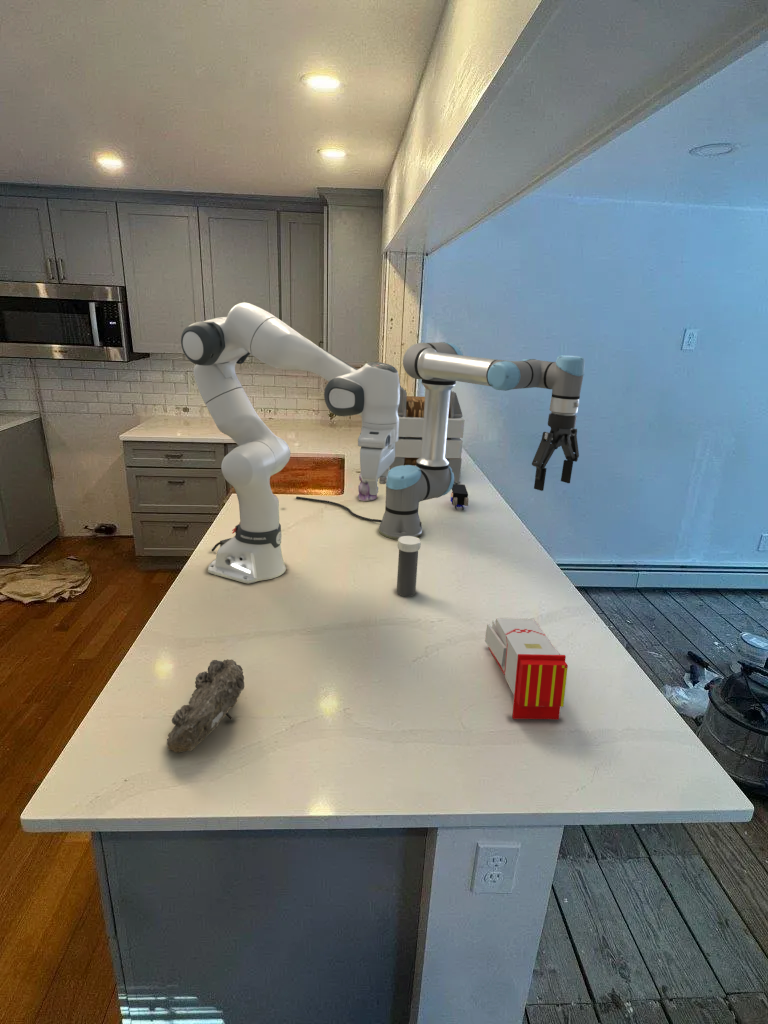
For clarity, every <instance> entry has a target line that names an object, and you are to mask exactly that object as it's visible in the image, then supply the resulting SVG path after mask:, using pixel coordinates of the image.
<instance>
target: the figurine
mask: <svg viewBox="0 0 768 1024" xmlns="http://www.w3.org/2000/svg"><path fill="white" fill-rule="evenodd" d="M358 480H359V481H360V483H359V484H358V487H357V489H358V490H357V491H358V495H357V498H358V501H360V502H361V501H362V502H369V501H374V500H376V499H377V497H378V494H377V495H370V488H369V484H368V480H363V479H362V476H361V472H360V473H359V475H358Z"/></svg>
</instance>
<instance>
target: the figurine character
mask: <svg viewBox="0 0 768 1024" xmlns="http://www.w3.org/2000/svg"><path fill="white" fill-rule="evenodd" d="M449 501H450V502H451V505H452V506H453V507H454V510H456V511H457V510H458V508H461V510H462V511H464V510H465V507H468V506H469V502H470V501H469V492H468V490H467V487H466V485H465V484H463V483H454V484H453V487H452V489H451V493H450V500H449Z"/></svg>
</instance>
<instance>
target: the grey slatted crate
mask: <svg viewBox="0 0 768 1024" xmlns="http://www.w3.org/2000/svg"><path fill="white" fill-rule="evenodd" d="M407 394H408V393H407V390H406V389H404V388H403V387H402V385H400V404H399V407H398V417H399V438H398V441H397V442H395V459H394V462H393V463H392V464H391V465H390V466H389V470H390V469H392V468H394V467H396V466H401V465H404V466H405V465H413V466H416V461H417V459H418V458H420V457H421V449H422V434H423V419H424V404H425V396H415V395H414V396H413V395H412V396H411V395H407ZM464 429H465V419H464V418H463V411H462V408H461V405H460V402H459V398H458V395H457V392H455V391H453V390H451V392H450V404H449V416H448V428H447V441H446V453H445V458H446V459H447V461H448V462H449V466H450V467H451V469H452V473H454V484H460V483H461V472H462V461H463V460H462V453H463V442H464V441H463V440H462V439H463V438H464V431H465V430H464Z"/></svg>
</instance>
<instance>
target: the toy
mask: <svg viewBox="0 0 768 1024" xmlns="http://www.w3.org/2000/svg"><path fill="white" fill-rule="evenodd" d="M484 642H485V643H486V645H487V646H488V650H489V651H490V654H491V655H492V657H493V659H494V660H495V662H496V664H497V666H498V667H499V669H500V671H501V672H502V675H503V676H504V678H505V680H506V682H507V684H508V686H509V688H510V691H511V693H512V694H513V704H512V705H513V706H512V715H511V717H512V719H513V720H560V714H561V708H563V707H564V704H565V695H566V685H567V677H568V668H569V666H568V663H567V662H566V657H567V656H566V654H560V653H559V651H558V650H557V648H556V647H555V646H554V645H553V643H552V642H551V640H550V639H549V638H548V636H547V635H546V634H545V632H544V631H543V629H542V628H541V627H540V625H539V623H537V621H536V620H535V619H534V618H523V617H522V618H521V617H520V618H519V617H516V618H515V617H496V618H495V620H492V622H491V624H490V623H486V629H485V637H484Z"/></svg>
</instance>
